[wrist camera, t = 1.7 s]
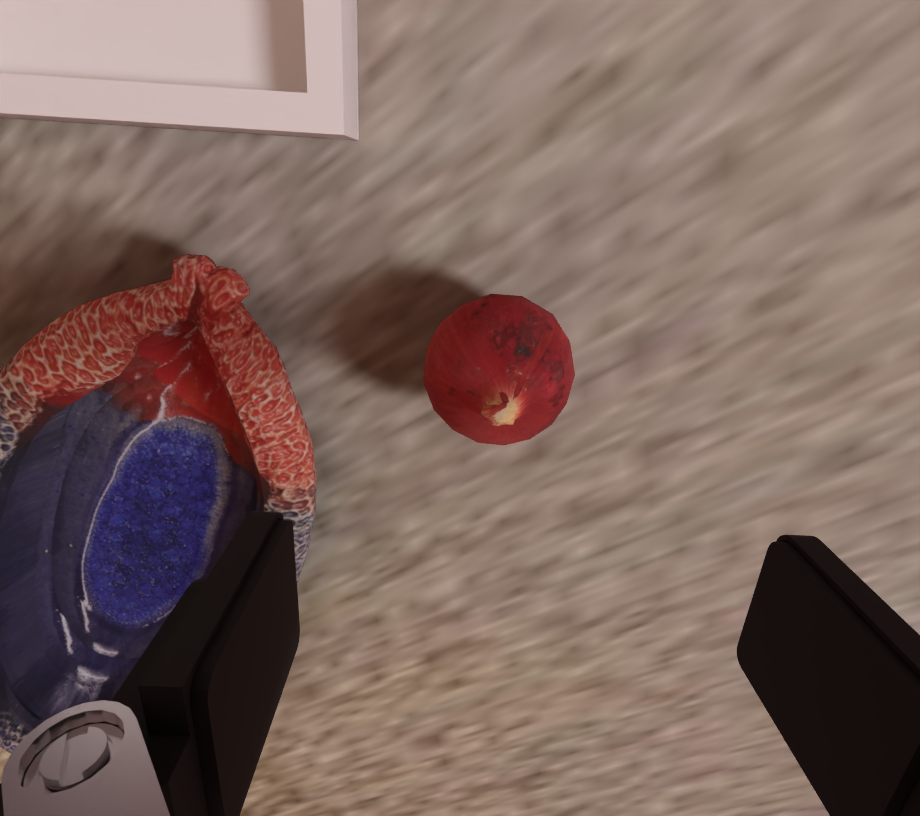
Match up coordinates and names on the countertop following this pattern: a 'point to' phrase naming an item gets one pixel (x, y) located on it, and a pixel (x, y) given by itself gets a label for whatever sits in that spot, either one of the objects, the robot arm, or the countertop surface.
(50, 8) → the tray
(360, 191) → the countertop surface
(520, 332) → the onion
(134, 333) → the dish
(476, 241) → the countertop surface
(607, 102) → the countertop surface
